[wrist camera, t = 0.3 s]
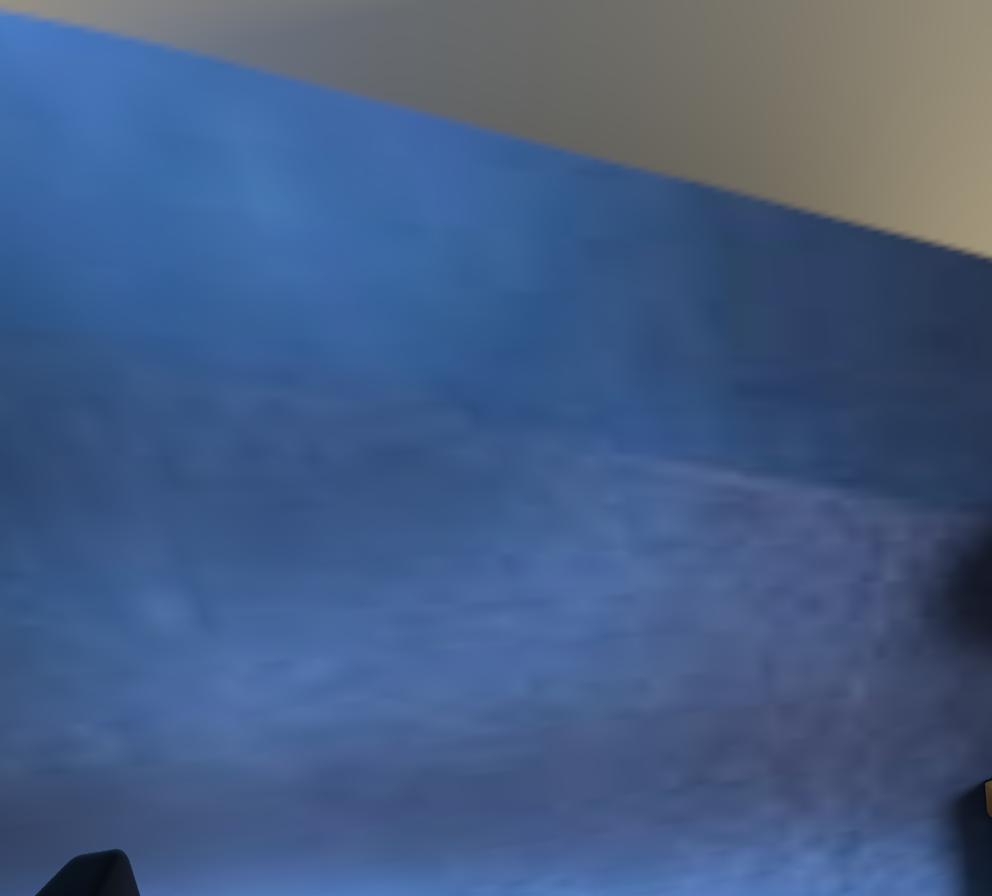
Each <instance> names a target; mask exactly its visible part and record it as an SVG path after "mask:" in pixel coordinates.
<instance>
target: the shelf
mask: <svg viewBox="0 0 992 896" xmlns="http://www.w3.org/2000/svg"><path fill="white" fill-rule="evenodd" d="M985 791H986V804H987V813H988V814H989V815H990V816H991V817H992V780H991V781H988V782H986V783H985Z"/></svg>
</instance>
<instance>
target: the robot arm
mask: <svg viewBox="0 0 992 896" xmlns="http://www.w3.org/2000/svg"><path fill="white" fill-rule="evenodd" d="M35 896H140V894H139V891H138V888H137V884H136V881H135V878H134V875H133V871H132V868H131V865H130V861H129V859H128V857H127V855H126V854H125V853H124V852H123V851H122V850H118V849H113V850H107V851H101V852H95V853H89V854H83V855H79V856H77V857H75V858H73V859H72V860H70V861H69V862H68V863H67V864H66V865H65V866H64V867H63V868H62V869H61V870H60V871H59V872H58V873H57V874H56V875H55V876H54V877H53V878H52V879H51V880H50V881H49V882H48V883H47V884H46V885H45V886H44V887H43V888H42V889H41V890H40V891H39V892H38V893H37V894H36V895H35Z"/></svg>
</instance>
